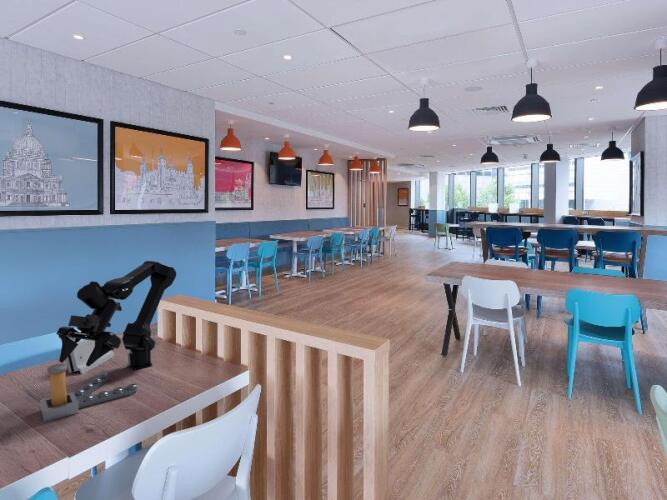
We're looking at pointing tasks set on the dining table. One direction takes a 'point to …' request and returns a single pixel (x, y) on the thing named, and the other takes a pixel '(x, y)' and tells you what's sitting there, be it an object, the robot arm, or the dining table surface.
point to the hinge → (84, 357)
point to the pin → (58, 384)
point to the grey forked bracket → (84, 398)
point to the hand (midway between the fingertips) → (73, 363)
